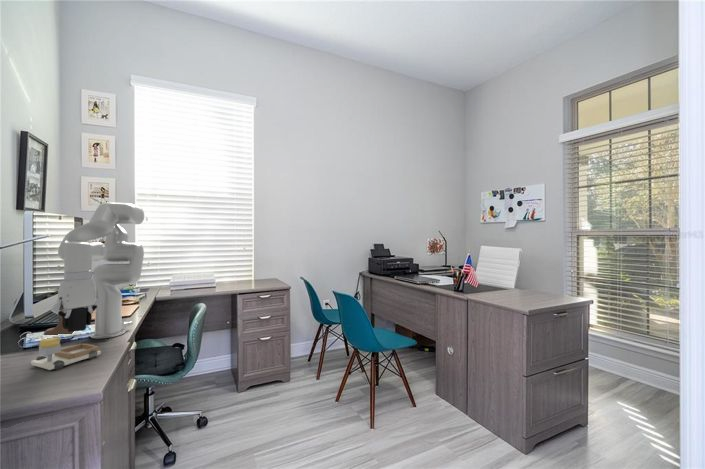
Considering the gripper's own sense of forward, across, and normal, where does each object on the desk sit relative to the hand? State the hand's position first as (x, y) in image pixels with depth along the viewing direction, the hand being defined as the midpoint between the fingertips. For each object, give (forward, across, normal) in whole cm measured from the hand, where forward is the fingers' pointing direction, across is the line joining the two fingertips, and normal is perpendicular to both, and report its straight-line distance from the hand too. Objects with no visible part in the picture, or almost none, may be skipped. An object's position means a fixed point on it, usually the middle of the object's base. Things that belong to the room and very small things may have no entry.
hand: (77, 326), depth 115 cm
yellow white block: (+7, +8, 0) cm, 11 cm away
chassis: (+12, +3, 0) cm, 12 cm away
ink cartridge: (+2, 0, 0) cm, 2 cm away
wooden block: (+12, -10, -31) cm, 35 cm away
